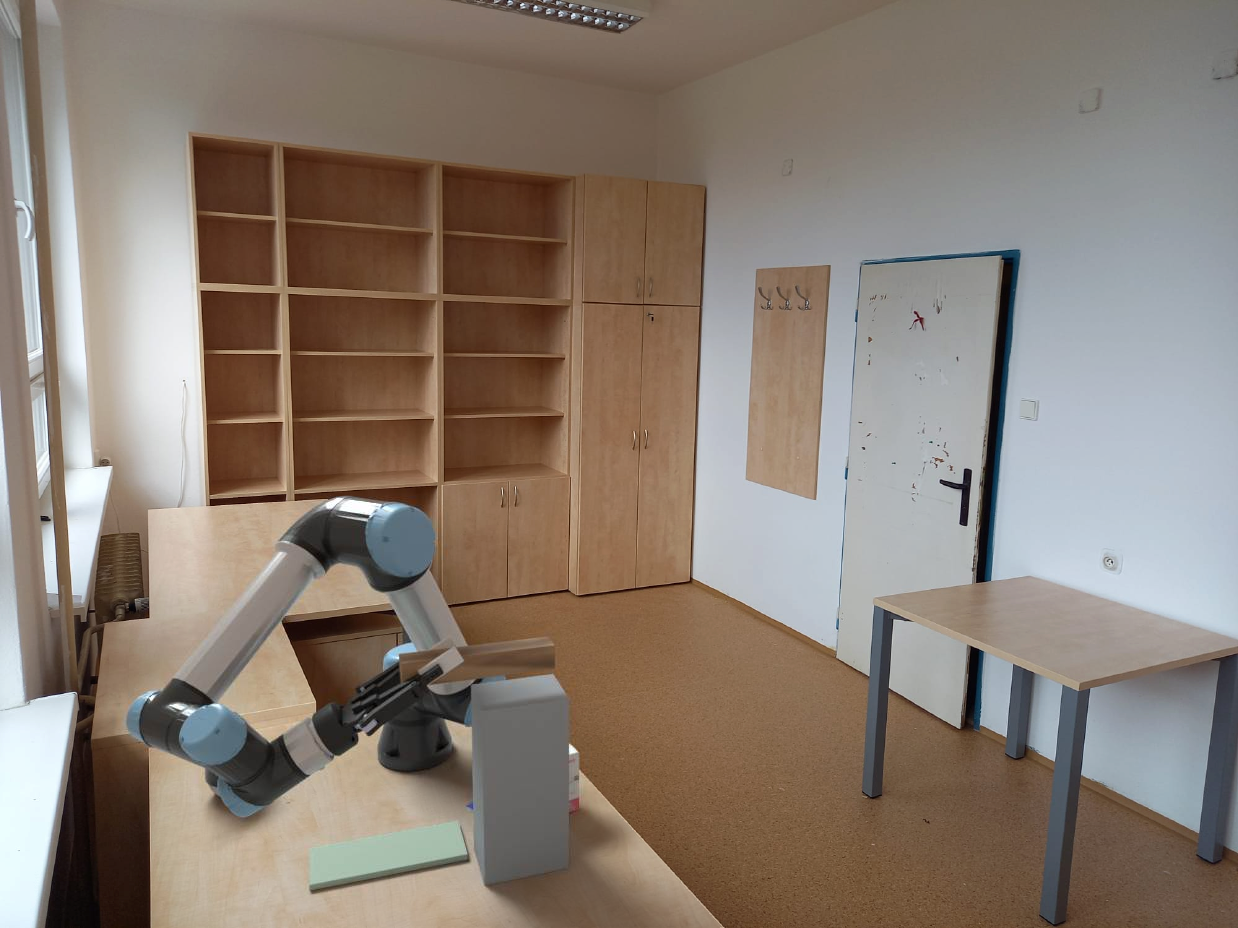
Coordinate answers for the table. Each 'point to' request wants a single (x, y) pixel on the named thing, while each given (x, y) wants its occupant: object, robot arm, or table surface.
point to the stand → (520, 777)
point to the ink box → (573, 779)
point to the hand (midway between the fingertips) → (456, 647)
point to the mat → (385, 854)
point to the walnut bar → (485, 660)
